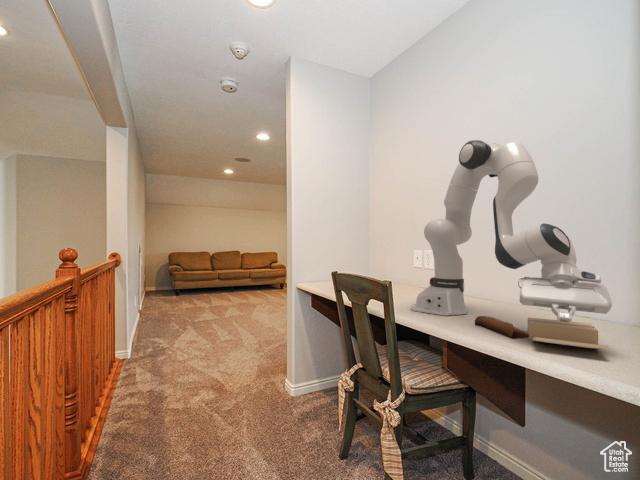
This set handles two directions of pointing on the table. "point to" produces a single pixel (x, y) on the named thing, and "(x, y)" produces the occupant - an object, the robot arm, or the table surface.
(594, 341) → the carton
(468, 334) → the table surface
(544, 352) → the table surface
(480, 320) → the brown tapered cylinder
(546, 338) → the flap
